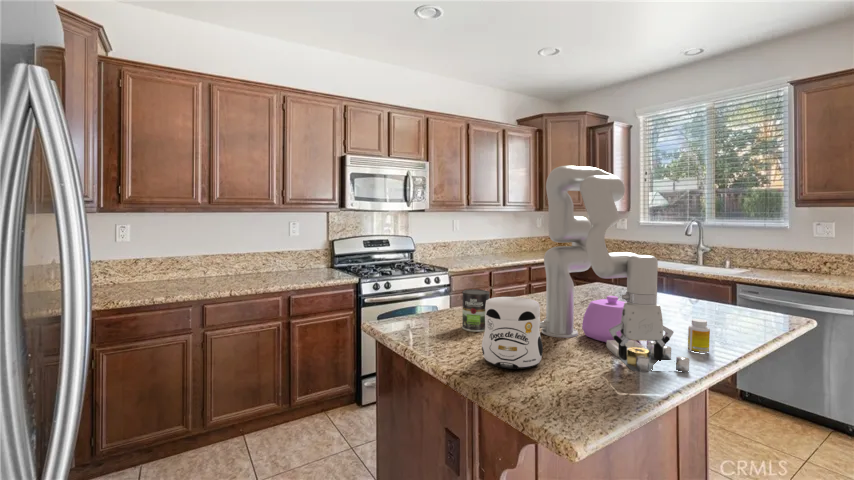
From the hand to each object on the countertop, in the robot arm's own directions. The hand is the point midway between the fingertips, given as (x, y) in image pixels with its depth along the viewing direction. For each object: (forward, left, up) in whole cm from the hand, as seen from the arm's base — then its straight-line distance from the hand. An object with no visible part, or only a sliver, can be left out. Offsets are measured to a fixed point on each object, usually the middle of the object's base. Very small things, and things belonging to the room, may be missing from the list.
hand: (640, 358), depth 116 cm
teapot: (+1, +26, -2) cm, 26 cm away
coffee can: (-45, +36, -2) cm, 58 cm away
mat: (+3, +5, -2) cm, 6 cm away
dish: (0, +10, -2) cm, 11 cm away
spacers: (+4, +4, -2) cm, 6 cm away
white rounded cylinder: (-36, 0, -2) cm, 36 cm away
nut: (0, +1, -2) cm, 2 cm away
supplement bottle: (+23, +13, -2) cm, 26 cm away
